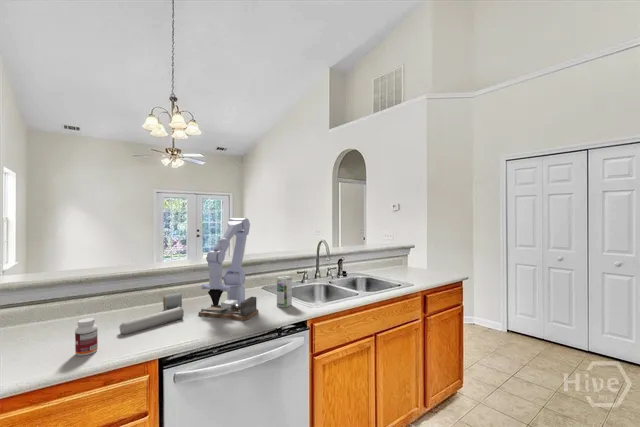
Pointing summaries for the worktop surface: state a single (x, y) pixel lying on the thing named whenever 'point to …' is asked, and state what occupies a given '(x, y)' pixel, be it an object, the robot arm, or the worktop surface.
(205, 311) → the gauge base
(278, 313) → the worktop surface
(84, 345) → the pill bottle
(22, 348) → the worktop surface
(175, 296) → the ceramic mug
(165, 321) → the tube
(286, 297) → the syrup box
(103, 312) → the worktop surface
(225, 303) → the gauge carriage
